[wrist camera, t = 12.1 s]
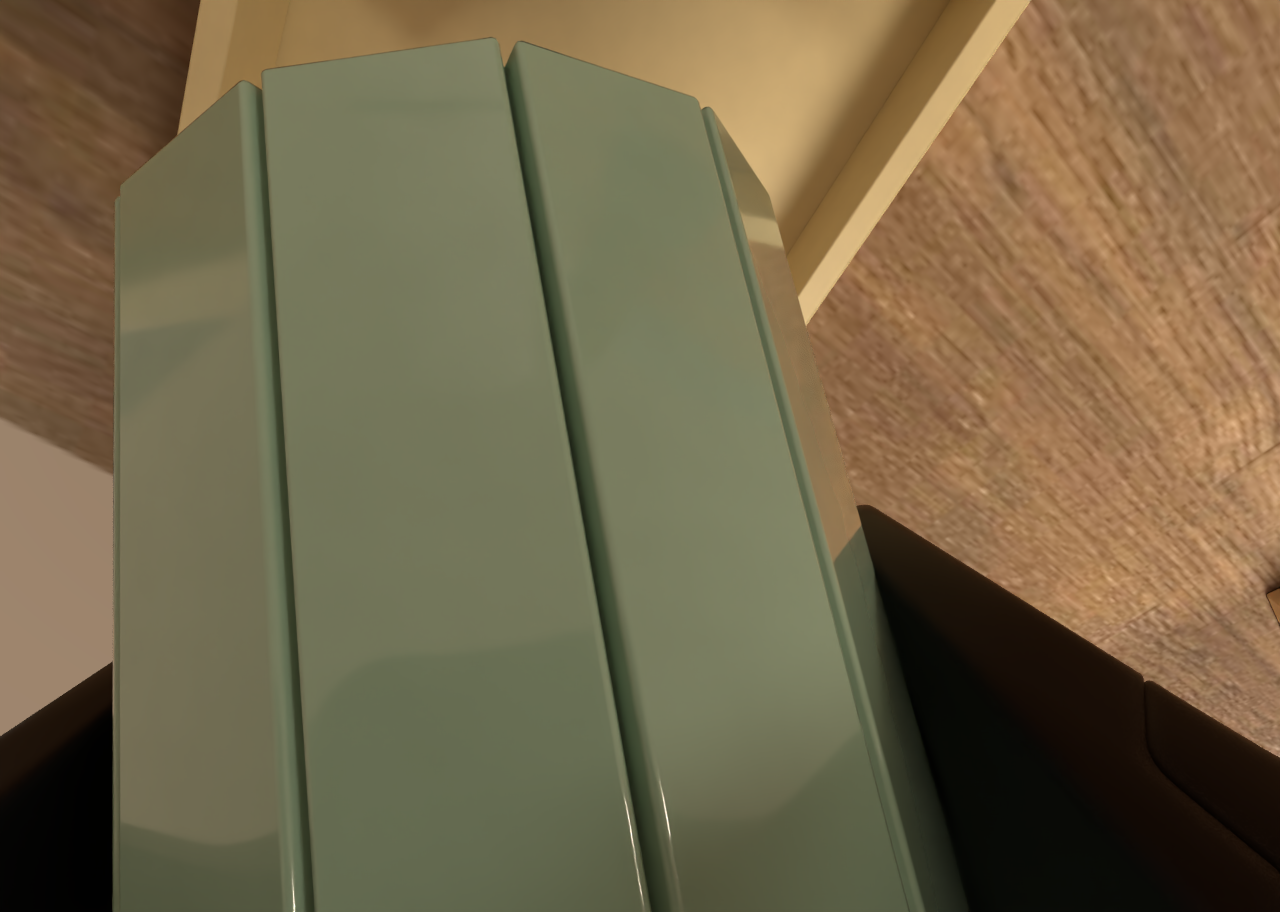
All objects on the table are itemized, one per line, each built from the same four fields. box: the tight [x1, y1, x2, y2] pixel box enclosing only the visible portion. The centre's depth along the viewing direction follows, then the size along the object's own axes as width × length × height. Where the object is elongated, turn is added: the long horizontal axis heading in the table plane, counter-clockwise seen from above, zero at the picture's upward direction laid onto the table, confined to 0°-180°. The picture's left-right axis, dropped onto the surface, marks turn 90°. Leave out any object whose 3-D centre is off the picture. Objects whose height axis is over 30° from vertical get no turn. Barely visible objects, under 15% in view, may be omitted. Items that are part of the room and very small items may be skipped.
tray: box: [177, 0, 1031, 325], centre depth 15 cm, size 15×13×3 cm
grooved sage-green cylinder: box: [112, 37, 970, 912], centre depth 7 cm, size 11×7×7 cm
